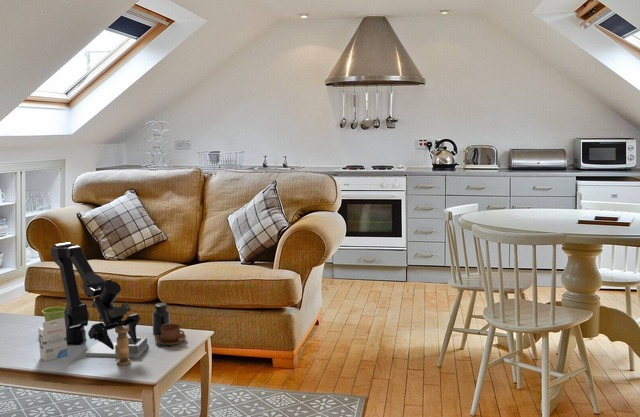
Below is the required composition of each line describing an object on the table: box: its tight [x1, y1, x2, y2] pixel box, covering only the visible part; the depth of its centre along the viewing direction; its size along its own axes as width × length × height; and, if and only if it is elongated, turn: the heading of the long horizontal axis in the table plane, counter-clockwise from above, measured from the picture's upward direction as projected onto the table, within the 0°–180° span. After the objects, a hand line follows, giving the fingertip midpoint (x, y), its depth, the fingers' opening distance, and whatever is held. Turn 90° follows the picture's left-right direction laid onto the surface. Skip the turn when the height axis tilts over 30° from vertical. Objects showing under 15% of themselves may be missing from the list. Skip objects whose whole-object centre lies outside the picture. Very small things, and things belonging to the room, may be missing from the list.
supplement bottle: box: [152, 302, 171, 336], centre depth 278 cm, size 7×7×12 cm
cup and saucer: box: [154, 323, 187, 346], centre depth 268 cm, size 12×12×6 cm
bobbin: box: [114, 326, 132, 367], centre depth 245 cm, size 5×5×13 cm
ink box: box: [37, 318, 68, 362], centre depth 251 cm, size 8×5×15 cm, turn 133°
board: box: [84, 336, 150, 358], centre depth 258 cm, size 20×12×4 cm, turn 85°
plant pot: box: [41, 306, 66, 325], centre depth 282 cm, size 9×9×9 cm
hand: (124, 345), depth 244 cm, fingers open, 9 cm apart
